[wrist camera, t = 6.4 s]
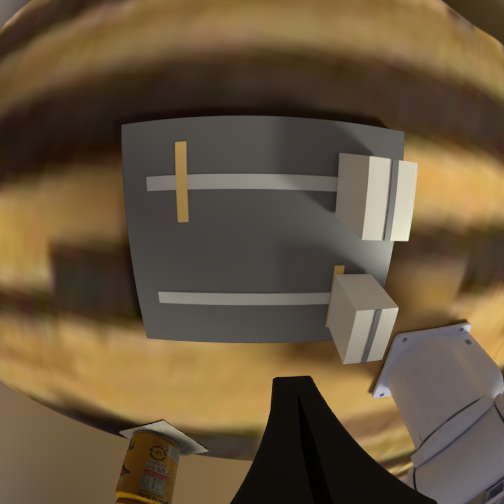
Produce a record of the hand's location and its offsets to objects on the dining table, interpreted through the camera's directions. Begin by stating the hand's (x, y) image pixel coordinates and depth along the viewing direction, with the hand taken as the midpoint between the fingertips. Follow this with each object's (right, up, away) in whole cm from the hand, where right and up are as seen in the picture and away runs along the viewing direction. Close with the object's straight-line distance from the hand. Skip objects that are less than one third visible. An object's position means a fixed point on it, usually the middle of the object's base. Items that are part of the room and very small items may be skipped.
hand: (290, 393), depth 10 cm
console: (-1, +6, +8) cm, 10 cm away
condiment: (-12, -17, +17) cm, 27 cm away
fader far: (+5, +2, +7) cm, 9 cm away
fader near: (+4, +9, +5) cm, 11 cm away
